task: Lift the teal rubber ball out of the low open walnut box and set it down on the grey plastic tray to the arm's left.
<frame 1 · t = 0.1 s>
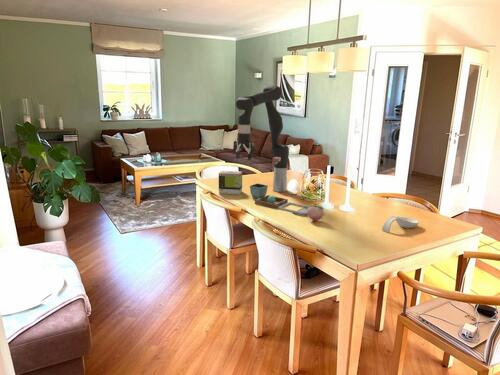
hand: (243, 158, 224), 29 cm above the table, tool pointing down, fingers open, 8 cm apart
spoon rest: (399, 228, 198), on the table
retro computer monitor: (230, 192, 259), on the table
walnut box: (271, 204, 233), on the table
flower pot: (258, 198, 246), on the table
decorative fruit: (314, 221, 206), on the table
ball: (271, 203, 233), point 1 cm above the table, touching walnut box
tray: (296, 210, 223), on the table
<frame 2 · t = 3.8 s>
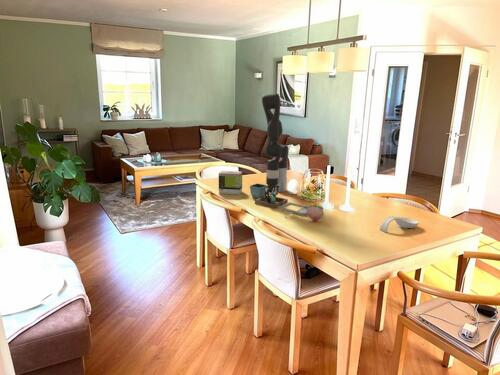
hand: (271, 202, 233), 1 cm above the table, tool pointing down, fingers closed on ball, 5 cm apart
ball: (271, 203, 233), point 1 cm above the table, touching gripper, walnut box
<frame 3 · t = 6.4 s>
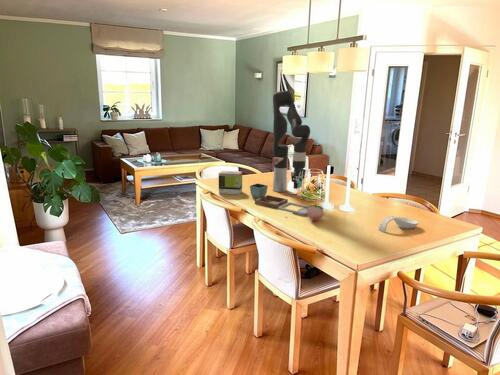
hand: (297, 187, 220), 14 cm above the table, tool pointing down, fingers closed on ball, 5 cm apart
ball: (297, 188, 220), point 14 cm above the table, touching gripper
when the fingers open (2 cm above the table, at t = 8.9 s): ball drops 1 cm, resting on tray.
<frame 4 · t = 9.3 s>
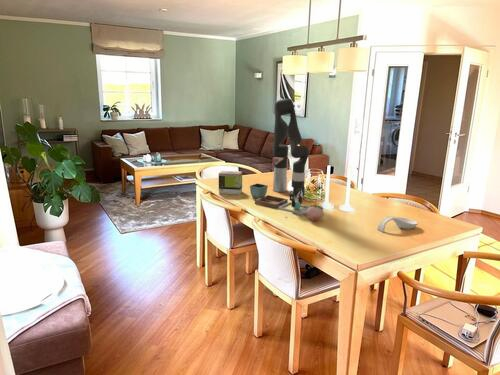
hand: (296, 205, 222), 3 cm above the table, tool pointing down, fingers open, 8 cm apart
ball: (296, 209, 223), point 1 cm above the table, touching tray
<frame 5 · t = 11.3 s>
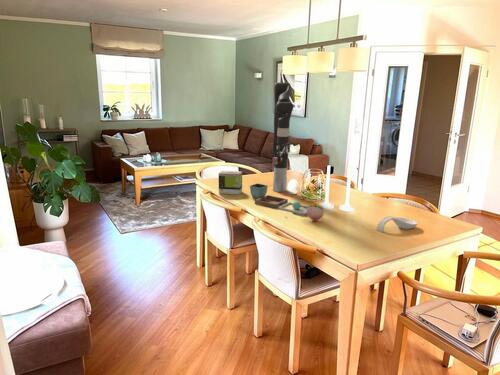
hand: (282, 160, 231), 27 cm above the table, tool pointing down, fingers open, 8 cm apart
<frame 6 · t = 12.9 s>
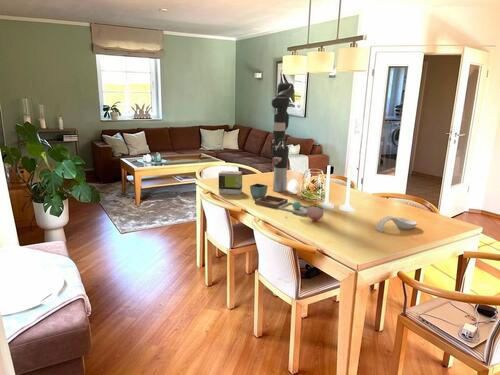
hand: (278, 155, 234), 30 cm above the table, tool pointing down, fingers open, 8 cm apart
at the end: ball inside the target area on the tray (0.0 cm from its centre), point 0.6 cm above the tray's base; the gripper is holding nothing; ball touching tray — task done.
